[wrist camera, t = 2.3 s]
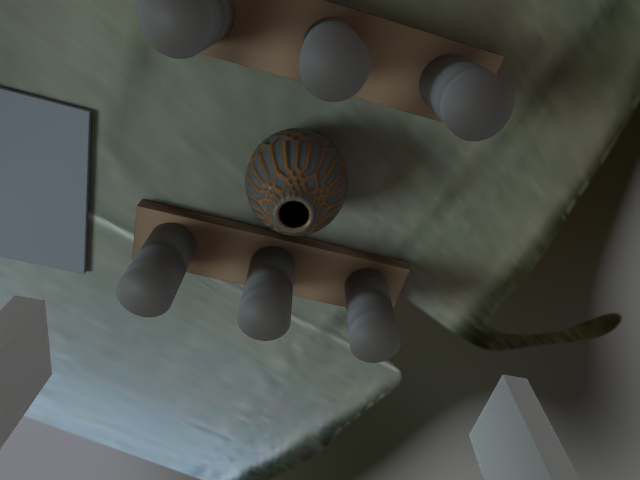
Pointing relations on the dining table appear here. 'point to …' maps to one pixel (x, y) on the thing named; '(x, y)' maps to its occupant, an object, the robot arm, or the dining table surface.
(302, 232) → the vase
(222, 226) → the spacer rack
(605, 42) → the dining table surface
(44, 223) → the mat
